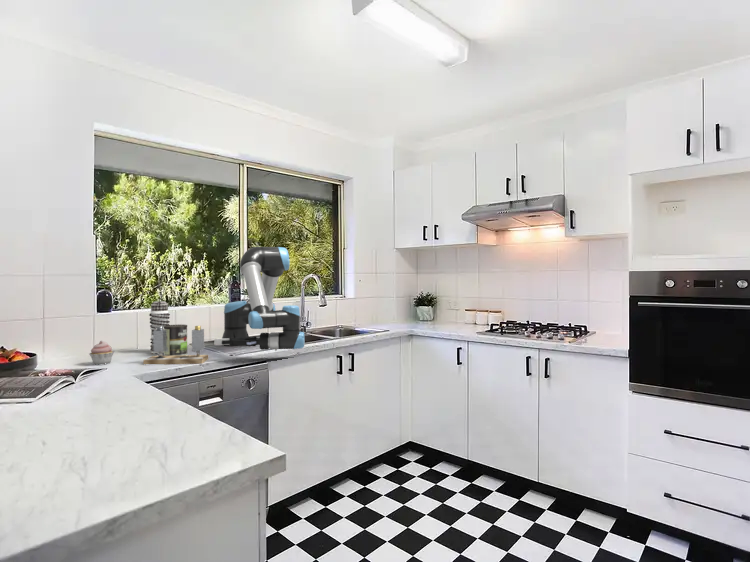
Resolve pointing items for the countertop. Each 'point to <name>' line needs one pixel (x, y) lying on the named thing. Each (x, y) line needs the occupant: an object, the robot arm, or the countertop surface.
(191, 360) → the board
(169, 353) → the coffee can
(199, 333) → the block
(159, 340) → the fixed leg
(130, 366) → the countertop surface
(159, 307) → the decorative candle
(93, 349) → the cupcake
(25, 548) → the countertop surface
